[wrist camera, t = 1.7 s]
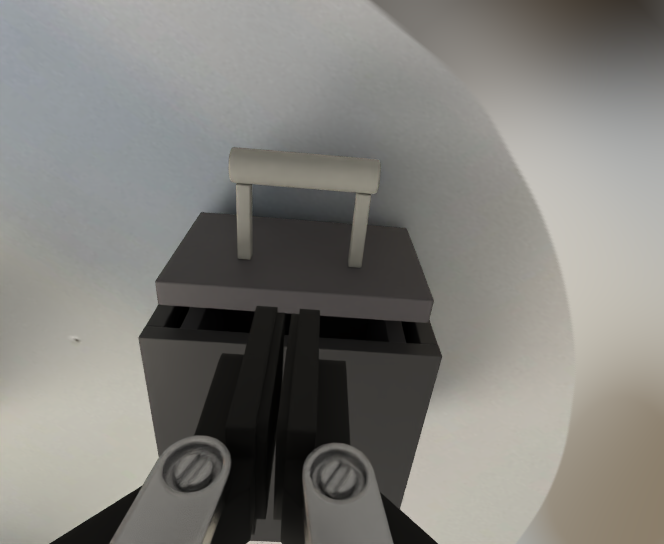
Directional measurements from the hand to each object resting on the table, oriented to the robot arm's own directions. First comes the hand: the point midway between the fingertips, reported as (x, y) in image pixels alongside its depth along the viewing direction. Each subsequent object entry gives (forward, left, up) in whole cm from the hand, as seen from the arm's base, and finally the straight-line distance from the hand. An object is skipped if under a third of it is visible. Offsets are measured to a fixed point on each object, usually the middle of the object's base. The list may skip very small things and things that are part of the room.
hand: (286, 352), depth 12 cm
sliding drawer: (+5, +3, -13) cm, 15 cm away
